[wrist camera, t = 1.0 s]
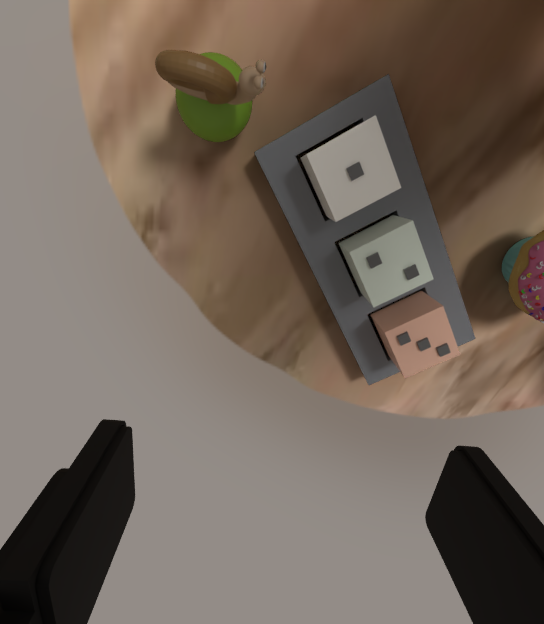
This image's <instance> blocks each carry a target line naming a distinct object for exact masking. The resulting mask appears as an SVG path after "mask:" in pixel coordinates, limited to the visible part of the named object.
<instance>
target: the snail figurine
mask: <svg viewBox="0 0 544 624" xmlns="http://www.w3.org/2000/svg"><path fill="white" fill-rule="evenodd" d="M155 65H156V70H157V72H158V74H159V75H160V76H161V77H162V78H163V79H164V80H166V81H168V83H170V84H171V85H172V86H173V87H175V88H176V102H177V107H178V110H179V113H180V115H181V117H182V119H183V121H184V123H185V124H186V125H187V127H188V128H189V129H190V130H191V131H192V132H193V133H194V134H196V135H197V136H199V137H201V138H202V139H205V140H208V141H212V142H223V141H227V140H230V139H232V138H234V137H235V136H237V135H238V134H239V133H240V132H241V131H242V130H243V129H244V127H245V126H246V124H247V122H248V120H249V118H250V114H251V110H252V100H253V99H254V98H255V97H256V96H257V95H259V94H260V93H261V92H262V91H263V89H264V87H265V84H266V79H265V76H264V74H263V73H264V72H265V70H266V62H265V61H264V60H258V61H257V63H256V67H253V66H250V67H246V68H245V69H243V70H242V69H241V68H240V67H239V66H238V65H237V64H236V63H235V62H234V61H233V60H232V59H230V58H228V57H227V56H224V55H222V54H219V53H211V52H210V53H203V54H196V53H192V52H188V51H178V50H166V51H163V52H161V53H160V54H159V55H158V56H157V58H156V61H155Z"/></svg>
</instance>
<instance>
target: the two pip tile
mask: <svg viewBox="0 0 544 624" xmlns="http://www.w3.org/2000/svg"><path fill="white" fill-rule="evenodd" d="M339 246H340V248H341V250H342V252H343V255H344V257H345V259H346V261H347V264H348V266H349V268H350V270H351V273H352V275H353V277H354V279H355V281H356V284H357V286H358V288H359V290H360V292H361V293H362V295H363V296H364V297H365V298H366V299H367V300H368V302H369V303H370V304H371V305H372V306H373V307H376V306H378V305H380V304H382V303H385V302H387V301H389V300H391V299H393V298H395V297H397V296H399V295H401V294H404V293H406V292H408V291H410V290H412V289H414V288H416V287H418V286H420V285H423V284H425V283H427V282H429V281H431V280H433V279H434V278H433V276H432V273H431V270H430V267H429V264H428V261H427V259H426V256H425V253H424V250H423V247H422V244H421V242H420V239H419V236H418V233H417V230H416V228H415V225H414V222H413V220H410V219H406V218H403V217H399V216H395V215H392V216H390V217H388V218H386V219H384V220H382V221H380V222H378V223H376V224H374V225H372V226H371V227H369V228H367V229H365V230H363V231H361V232H359V233H357V234H355V235H353V236H351V237H349V238H347V239H345V240H343V241H341V242H339Z"/></svg>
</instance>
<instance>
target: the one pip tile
mask: <svg viewBox="0 0 544 624" xmlns="http://www.w3.org/2000/svg"><path fill="white" fill-rule="evenodd" d="M301 161H302V163H303V165H304V167H305V170H306V172H307V174H308V176H309V179H310V181H311V183H312V185H313V188H314V190H315V192H316V194H317V196H318V199H319V201H320V203H321V205H322V208H323V210H324V212H325V214H326V216H327V217H328V218H330V219H332V220H333V221H335V222H337V221H339V220H341V219H343V218H345V217H347V216H349V215H350V214H352V213H354V212H356V211H358V210H360V209H362V208H364V207H366V206H368V205H370V204H371V203H373V202H375V201H377V200H379V199H381V198H383V197H385V196H387V195H389V194H390V193H392V192H394V191H396V190H398V189H400V188H401V185H400V182H399V179H398V177H397V174H396V171H395V168H394V165H393V163H392V160H391V157H390V154H389V151H388V148H387V146H386V143H385V140H384V137H383V134H382V131H381V129H380V126H379V123H378V120H377V117H376V115H375V116H373V117H371V118H370V119H368V120H366V121H364V122H363V123H361V124H359V125H357V126H355V127H354V128H352V129H350V130H348V131H347V132H345V133H343V134H341V135H340V136H338V137H336V138H334V139H333V140H331V141H329V142H327V143H325V144H324V145H322V146H320V147H318V148H317V149H315V150H313V151H311V152H310V153H308V154H306V155H304V156H303V157H301Z"/></svg>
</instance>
